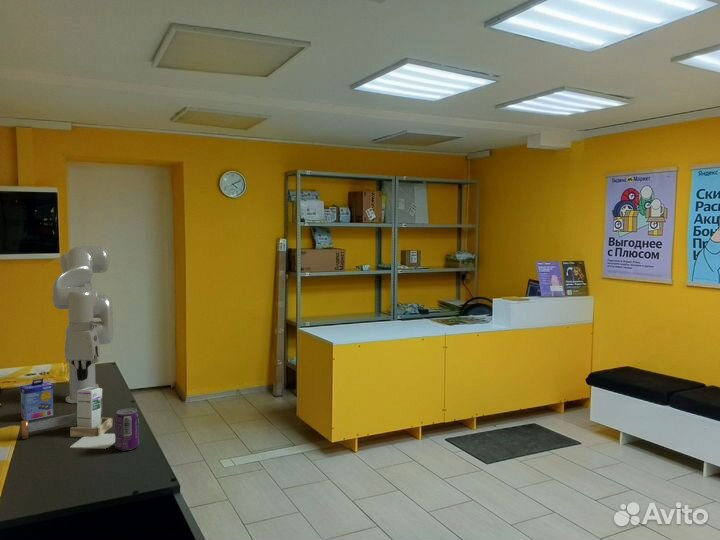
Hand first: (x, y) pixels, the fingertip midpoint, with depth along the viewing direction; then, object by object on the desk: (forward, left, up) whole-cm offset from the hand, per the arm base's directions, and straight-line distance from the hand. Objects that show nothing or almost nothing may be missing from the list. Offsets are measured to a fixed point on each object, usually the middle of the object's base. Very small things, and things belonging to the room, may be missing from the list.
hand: (82, 379), depth 195 cm
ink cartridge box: (-15, -24, -19) cm, 34 cm away
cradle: (-1, +2, -18) cm, 18 cm away
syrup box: (-1, +2, -18) cm, 18 cm away
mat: (+8, +9, -18) cm, 22 cm away
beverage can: (+13, +21, -19) cm, 31 cm away
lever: (+1, -10, -18) cm, 21 cm away
